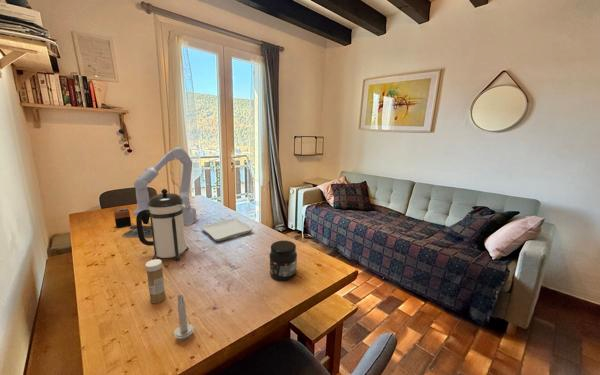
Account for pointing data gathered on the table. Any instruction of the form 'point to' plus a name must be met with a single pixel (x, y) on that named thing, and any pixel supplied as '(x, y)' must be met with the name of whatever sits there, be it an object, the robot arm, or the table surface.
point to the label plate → (135, 233)
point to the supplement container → (283, 260)
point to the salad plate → (226, 229)
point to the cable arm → (146, 227)
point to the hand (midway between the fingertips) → (146, 223)
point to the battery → (122, 218)
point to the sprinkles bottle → (155, 280)
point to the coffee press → (164, 225)
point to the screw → (183, 322)
